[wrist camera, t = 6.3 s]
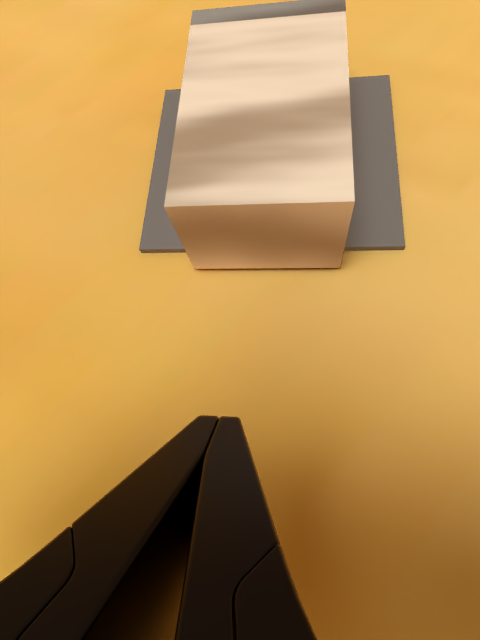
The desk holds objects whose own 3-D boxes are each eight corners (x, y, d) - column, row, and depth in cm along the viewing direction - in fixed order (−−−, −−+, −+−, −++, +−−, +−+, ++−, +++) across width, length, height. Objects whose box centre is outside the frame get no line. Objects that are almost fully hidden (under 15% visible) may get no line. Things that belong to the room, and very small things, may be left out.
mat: (403, 249, 19) (405, 246, 19) (141, 252, 21) (139, 249, 21) (388, 79, 23) (389, 75, 23) (166, 94, 25) (165, 90, 25)
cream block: (355, 201, 14) (344, -4, 18) (163, 206, 15) (192, 10, 19) (339, 267, 19) (334, 93, 23) (194, 268, 20) (212, 101, 24)
